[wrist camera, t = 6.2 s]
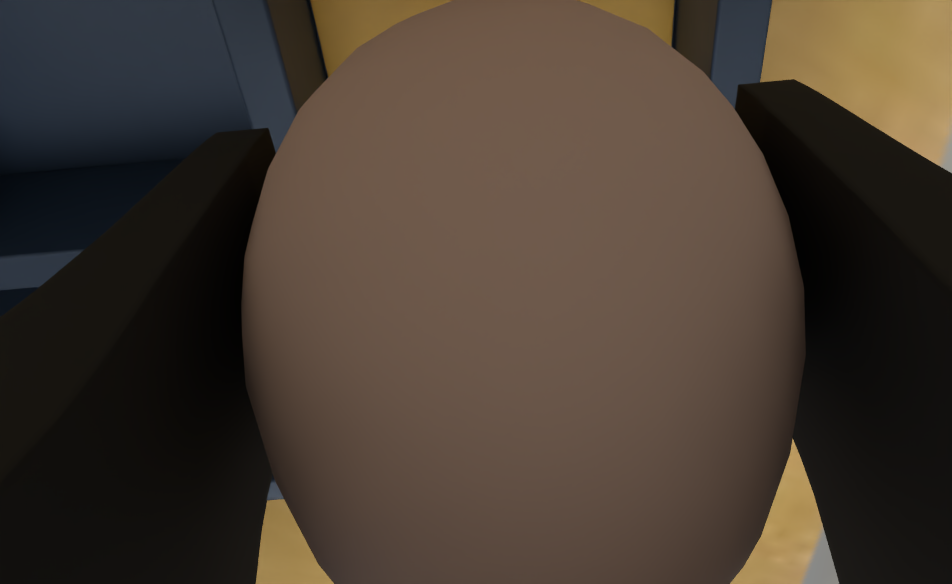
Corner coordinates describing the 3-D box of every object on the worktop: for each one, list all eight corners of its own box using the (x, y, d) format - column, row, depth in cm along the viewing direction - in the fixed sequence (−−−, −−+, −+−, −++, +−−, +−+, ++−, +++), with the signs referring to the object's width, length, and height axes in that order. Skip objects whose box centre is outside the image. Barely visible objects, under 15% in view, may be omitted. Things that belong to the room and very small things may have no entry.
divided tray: (675, 367, 22) (702, 470, 20) (112, 411, 23) (72, 515, 21) (748, -357, 12) (821, -327, 10) (-276, -237, 13) (-448, -182, 10)
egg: (792, 21, 10) (1171, 574, 5) (571, 306, 13) (650, 833, 8) (392, -194, 9) (288, 276, 3) (246, 188, 12) (70, 752, 6)
